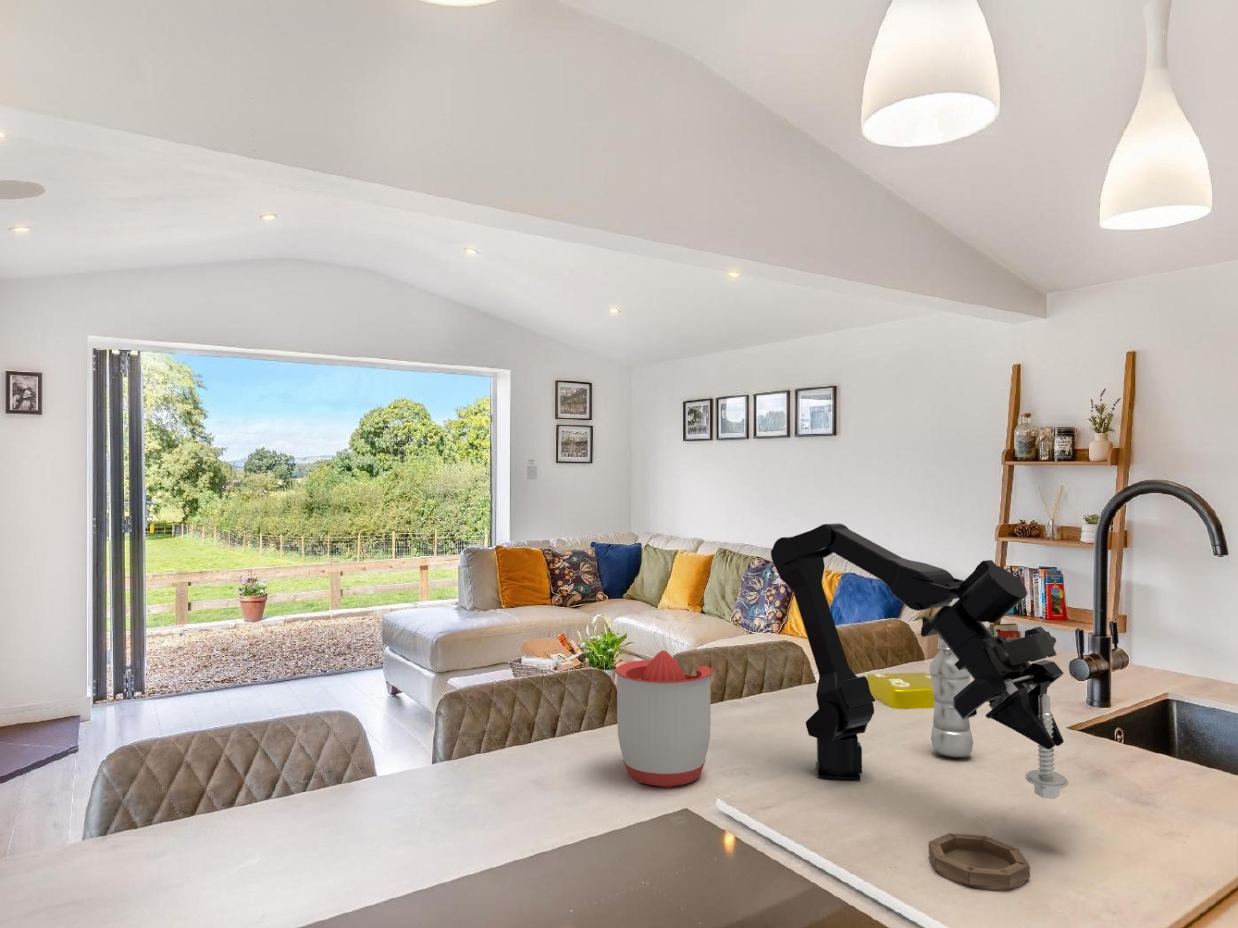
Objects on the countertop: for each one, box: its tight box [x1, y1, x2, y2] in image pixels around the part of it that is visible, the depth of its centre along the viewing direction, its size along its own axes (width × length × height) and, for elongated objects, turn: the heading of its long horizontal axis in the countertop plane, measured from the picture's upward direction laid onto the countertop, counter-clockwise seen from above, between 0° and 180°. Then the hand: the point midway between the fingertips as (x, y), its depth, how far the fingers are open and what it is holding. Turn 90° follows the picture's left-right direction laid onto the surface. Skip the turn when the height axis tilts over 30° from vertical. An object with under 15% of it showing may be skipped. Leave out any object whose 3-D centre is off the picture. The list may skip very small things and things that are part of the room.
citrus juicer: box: [614, 650, 713, 789], centre depth 127 cm, size 16×17×20 cm
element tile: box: [866, 672, 934, 710], centre depth 172 cm, size 15×15×5 cm
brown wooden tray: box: [928, 832, 1031, 892], centre depth 95 cm, size 11×11×2 cm
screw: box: [1024, 693, 1069, 800], centre depth 100 cm, size 13×5×5 cm
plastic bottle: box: [928, 636, 974, 758], centre depth 135 cm, size 6×7×20 cm
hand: (1056, 745), depth 99 cm, fingers closed on screw, 2 cm apart
